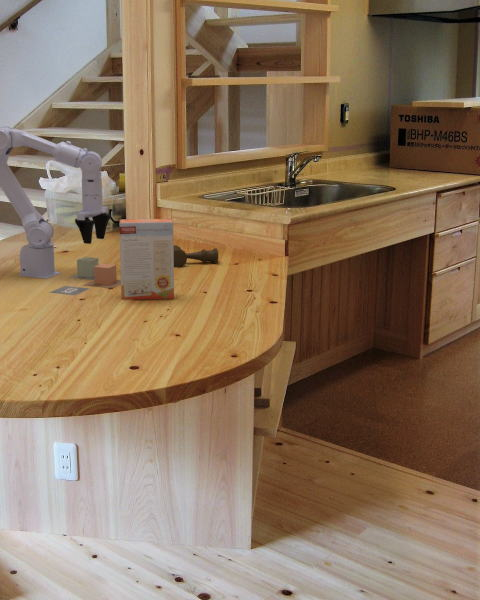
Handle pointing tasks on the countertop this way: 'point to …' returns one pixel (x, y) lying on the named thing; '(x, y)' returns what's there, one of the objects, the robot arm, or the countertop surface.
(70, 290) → the tile
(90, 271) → the sage block
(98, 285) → the walnut coaster
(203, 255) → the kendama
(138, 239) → the cracker box
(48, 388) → the countertop surface
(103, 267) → the rust block
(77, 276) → the gray coaster
